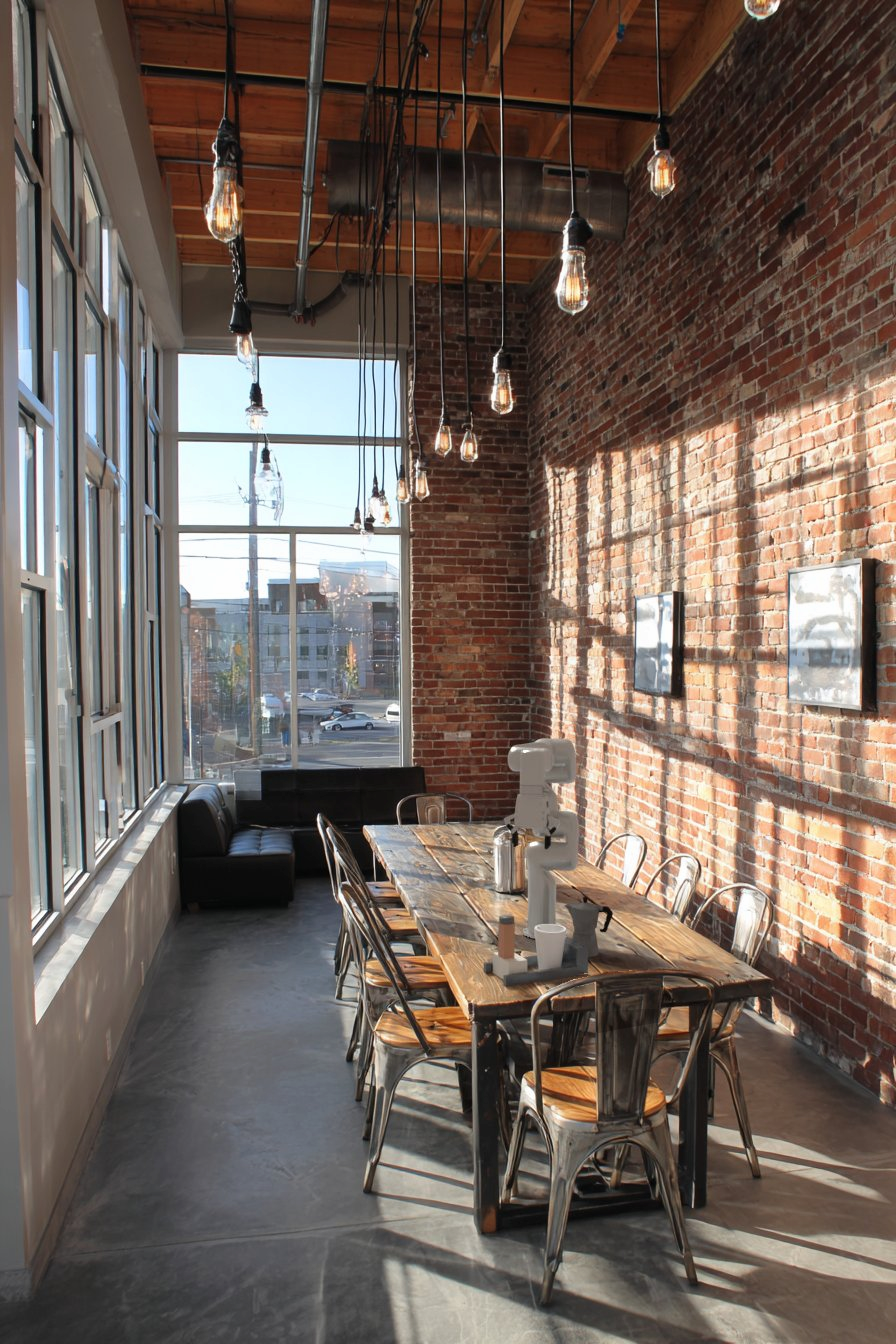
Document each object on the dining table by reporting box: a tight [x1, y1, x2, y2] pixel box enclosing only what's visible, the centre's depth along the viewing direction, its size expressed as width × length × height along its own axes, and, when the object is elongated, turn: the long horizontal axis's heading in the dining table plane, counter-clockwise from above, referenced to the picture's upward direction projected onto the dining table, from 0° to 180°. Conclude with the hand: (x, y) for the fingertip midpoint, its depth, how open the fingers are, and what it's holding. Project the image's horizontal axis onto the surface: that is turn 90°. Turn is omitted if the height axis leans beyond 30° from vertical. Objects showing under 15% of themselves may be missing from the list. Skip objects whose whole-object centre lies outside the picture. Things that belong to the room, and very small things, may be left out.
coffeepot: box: [564, 896, 614, 958], centre depth 300 cm, size 15×9×18 cm, turn 69°
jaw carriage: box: [492, 914, 528, 980], centre depth 276 cm, size 10×6×18 cm, turn 25°
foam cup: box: [534, 924, 567, 970], centre depth 281 cm, size 10×9×13 cm
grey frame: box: [483, 935, 589, 987], centre depth 279 cm, size 14×28×8 cm, turn 115°
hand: (531, 847), depth 286 cm, fingers open, 9 cm apart
